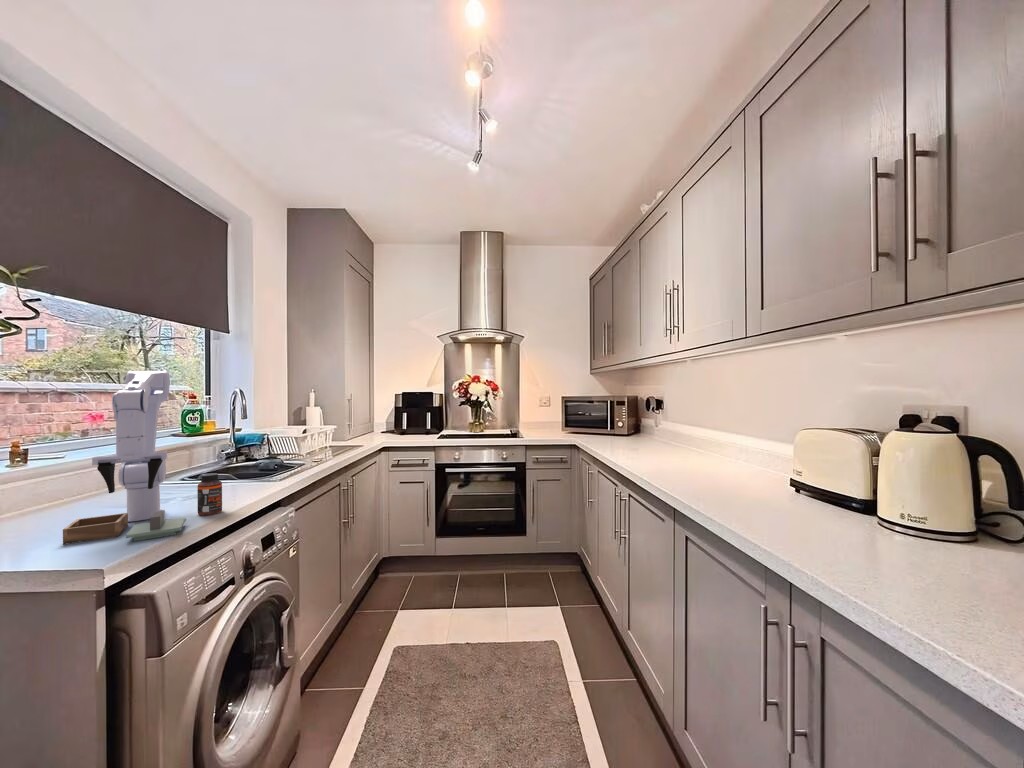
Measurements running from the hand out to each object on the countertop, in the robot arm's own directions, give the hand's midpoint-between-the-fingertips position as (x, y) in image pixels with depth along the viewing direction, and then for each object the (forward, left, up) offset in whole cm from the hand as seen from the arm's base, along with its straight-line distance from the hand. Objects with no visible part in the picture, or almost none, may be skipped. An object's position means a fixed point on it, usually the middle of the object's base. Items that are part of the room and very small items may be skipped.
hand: (131, 490), depth 114 cm
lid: (+6, +6, -10) cm, 14 cm away
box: (-2, -7, -10) cm, 13 cm away
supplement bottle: (-9, +16, -11) cm, 21 cm away
